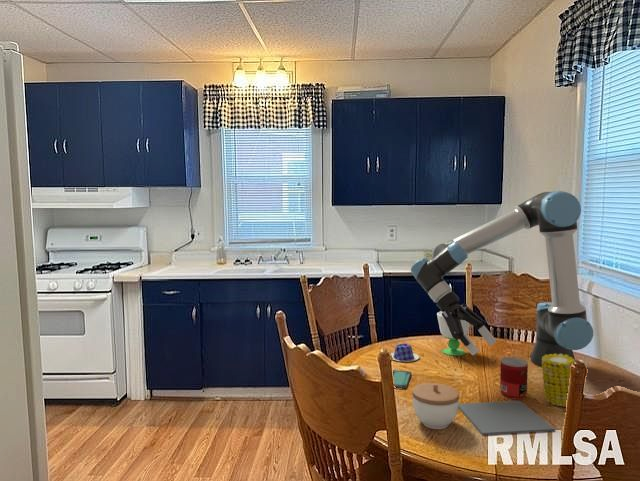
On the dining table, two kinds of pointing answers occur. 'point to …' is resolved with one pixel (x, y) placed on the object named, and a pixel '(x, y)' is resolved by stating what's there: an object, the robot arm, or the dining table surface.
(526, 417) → the rubber mat
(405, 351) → the pudding
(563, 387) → the food
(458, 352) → the cup
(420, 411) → the lidded bowl
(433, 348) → the dining table surface
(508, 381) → the canned food
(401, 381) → the smartphone
